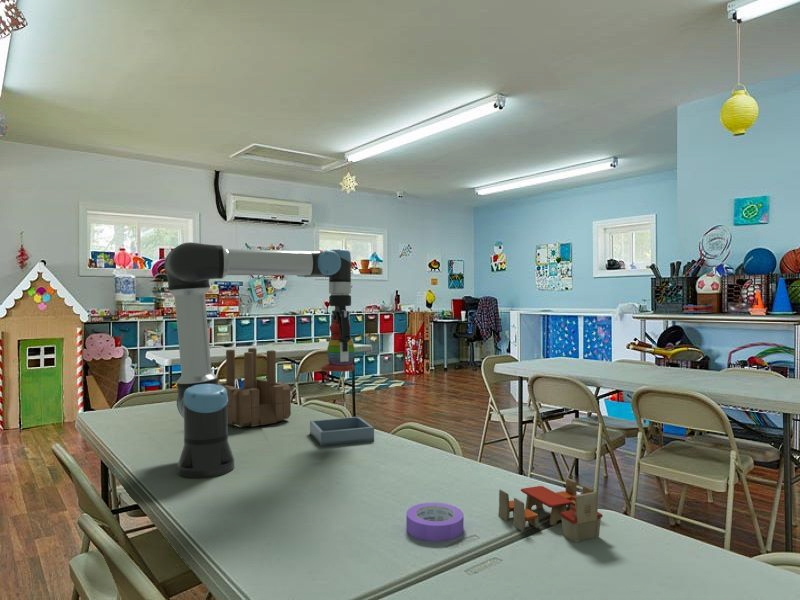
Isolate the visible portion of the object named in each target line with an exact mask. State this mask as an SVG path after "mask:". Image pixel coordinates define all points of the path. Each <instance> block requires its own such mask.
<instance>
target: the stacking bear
mask: <svg viewBox="0 0 800 600" xmlns="http://www.w3.org/2000/svg"><path fill="white" fill-rule="evenodd" d="M349 326H350V327H351V323H350V322H349ZM329 331H330V333H332V334H333V335H332V336H331V335H330V337H329V340H328V345H327V359H328V363H327V364H324V365H322V367H321V371H323V372H336V373H339V372H340V373H341V372H342V373H343V372H352V371H354V370H355V365H354V358H355V351H356V350H355V344H354V341H353V340H354V339H353V338H352V336H351V335H350V338H351V339H350V340H349V342H348V348H349V361H344V362H340V342H339V340H341V337H340V329H339V324H337V319H336V320H334V321H333V322H332V321H331V323H330V325H329Z"/></svg>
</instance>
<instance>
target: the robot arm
mask: <svg viewBox="0 0 800 600" xmlns="http://www.w3.org/2000/svg"><path fill="white" fill-rule="evenodd" d="M164 271H165V273H166V275H167V277H166V278H167V286H168V287H167V288H168V292H169V294H172V296H174V304H175V305H174V306H175V315H176V326H177V328H176V329H177V336H178V337H177V338H178V339H177V340H178V348H179V349H178V351H179V360H180V361H179V362H180V372H181V375H180V376H179V378H178V379H177V380H176V389H177V398H176V407H177V411H178V413H179V415H180V416H181V417H182V418H183V447H182V450H181V453H180V457H179V460H178V463H177V475H178V476H180V477H182V478H186V479H204V478H205V479H207V478H213V477H219V476H222V475H225V474H227V473H230V472H232V471H233V470H234V469H235V458H234V454H233V451H232V449H231V446H230V443H229V440H228V439H229V438H228V437H229V436H228V431H229V428H228V427H229V426H228V425H229V424H228V396H227V390H226V388H224V387H223V386H221V385H218V383H219V381H218V376H217V375H216V374H215V373H213V372H212V363H211V361H212V360H211V350H210V337H209V327H208V317H207V314H208V313H207V304H206V293H207V292H208V291H209V290H210V280H215V279H216V280H217V279H219V280H221V279H224V278H225V277H226V276H297V277H300V278H328V294H330V295H329V296H328V297H329V299H328V300H329V301H328V302H329V303H328V305H329V306H330V307H334V310H332V311H331V313H332V314H331V316H332V319H331V323H332V322H333V321H334V320H336V319H337V324H339V329H340V337H341V340H339V342H340V362H344V361H349V348H348V342H349V340H350V339H352V337H351V338H350V336H351V325H350V326H349V323H350V311H349V310H347V307H350V306H352V296H351V295H350V294H351V293H352V288H353V285H352V277H351V275H352V256H351V252H350V250H349V249H343V248H342V249H337V248H336V249H335V248H334V249H330V250H323V251H316V250H315V251H314V250H313V251H311V250H310V251H309V250H284V249H283V250H278V249H277V250H275V249H272V250H271V249H244V248H243V249H238V248H236V249H234V248H226V247H225V246H224V245H222V244H220V245H219V244H218V245H217V244H209V243H208V244H205V243H200V242H183V243H181V244H179V245H177V246H175V247H174V248H173V249H171V250H170V252H169V253H168V254H167V256H166V257H165V260H164ZM330 333H331V332H330ZM332 335H333V334H332V333H331V335H330V337H331V336H332Z"/></svg>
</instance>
